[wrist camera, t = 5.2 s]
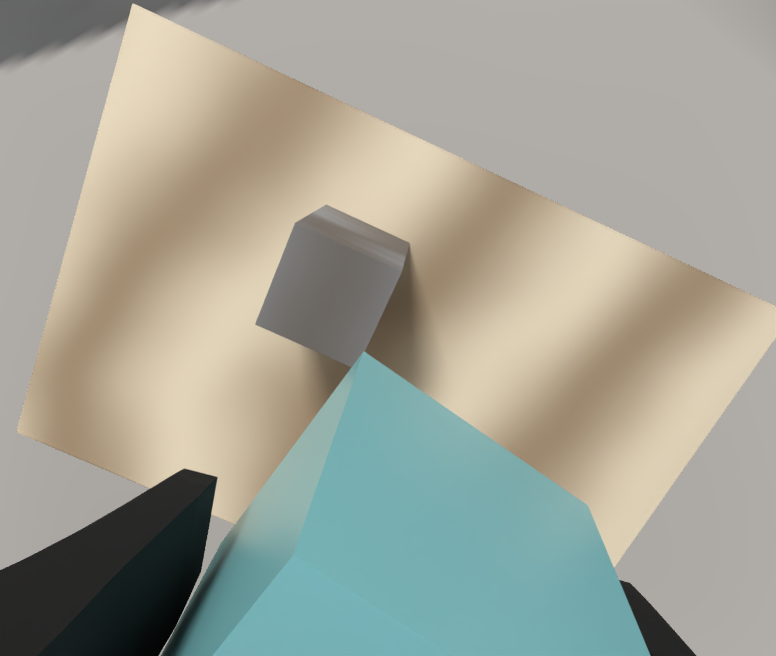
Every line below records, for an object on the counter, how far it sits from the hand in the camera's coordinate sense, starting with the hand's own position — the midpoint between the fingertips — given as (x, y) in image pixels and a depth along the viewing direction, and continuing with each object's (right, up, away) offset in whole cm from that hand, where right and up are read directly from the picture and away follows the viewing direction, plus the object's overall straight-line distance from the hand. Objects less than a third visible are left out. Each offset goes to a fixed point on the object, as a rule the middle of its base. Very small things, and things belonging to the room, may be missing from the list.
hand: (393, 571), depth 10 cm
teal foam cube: (0, 0, +1) cm, 1 cm away
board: (-1, +3, +9) cm, 9 cm away
